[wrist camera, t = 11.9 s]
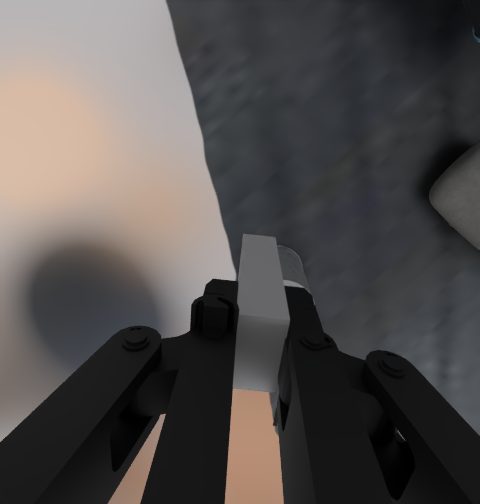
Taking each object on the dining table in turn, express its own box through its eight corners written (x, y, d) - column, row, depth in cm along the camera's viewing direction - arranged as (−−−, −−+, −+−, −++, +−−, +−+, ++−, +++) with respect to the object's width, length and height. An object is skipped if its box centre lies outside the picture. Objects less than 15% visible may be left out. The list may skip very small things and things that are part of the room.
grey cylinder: (279, 233, 53) (286, 266, 42) (313, 273, 56) (329, 314, 45) (235, 267, 56) (231, 306, 45) (270, 304, 59) (274, 349, 48)
